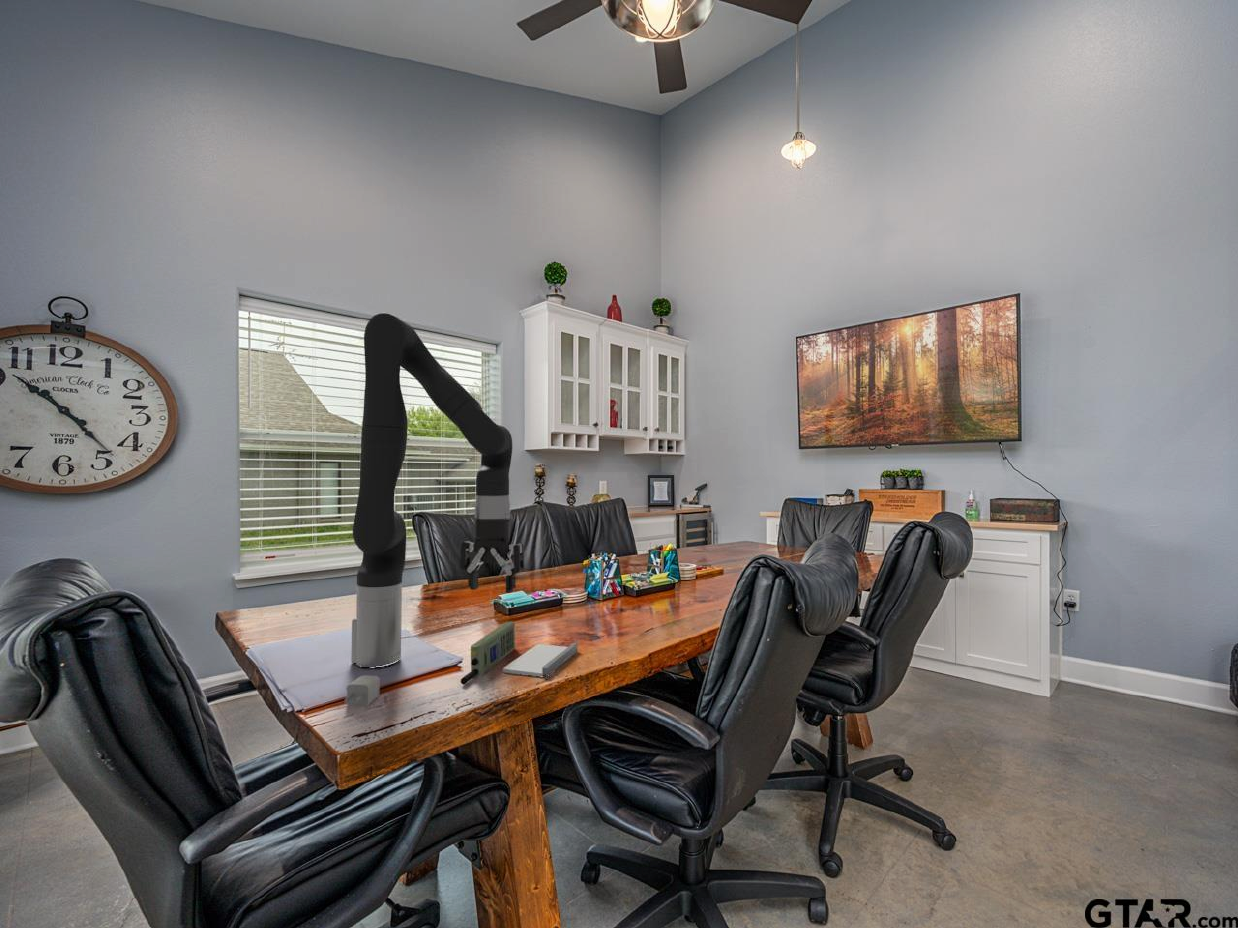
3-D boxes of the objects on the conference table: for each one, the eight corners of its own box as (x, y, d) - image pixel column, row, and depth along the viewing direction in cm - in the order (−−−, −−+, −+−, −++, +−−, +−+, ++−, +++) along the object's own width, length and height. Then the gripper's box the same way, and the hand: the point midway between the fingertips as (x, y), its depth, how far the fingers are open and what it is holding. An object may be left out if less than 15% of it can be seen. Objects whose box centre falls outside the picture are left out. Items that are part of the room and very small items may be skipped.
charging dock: (502, 672, 123) (502, 662, 123) (538, 647, 140) (538, 638, 140) (546, 677, 120) (546, 667, 120) (577, 651, 138) (577, 642, 138)
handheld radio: (517, 649, 139) (471, 688, 115) (504, 649, 140) (456, 687, 115) (516, 621, 139) (471, 654, 115) (503, 621, 140) (455, 653, 115)
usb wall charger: (379, 697, 109) (379, 675, 109) (361, 713, 102) (362, 690, 102) (358, 696, 109) (358, 675, 109) (339, 712, 102) (339, 689, 102)
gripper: (454, 516, 126) (453, 592, 126) (514, 518, 122) (513, 596, 122) (472, 513, 133) (471, 585, 133) (529, 515, 129) (529, 589, 129)
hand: (491, 590), depth 127 cm, fingers open, 8 cm apart
